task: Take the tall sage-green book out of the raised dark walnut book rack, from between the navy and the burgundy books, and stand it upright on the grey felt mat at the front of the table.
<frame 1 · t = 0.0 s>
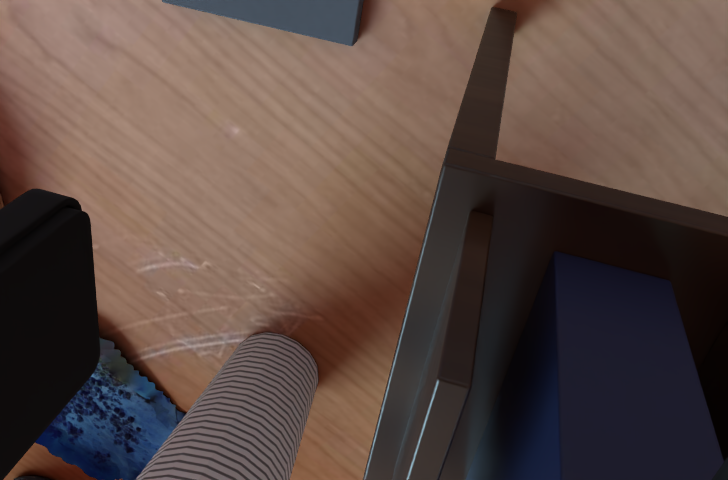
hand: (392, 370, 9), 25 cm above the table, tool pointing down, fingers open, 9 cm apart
rack: (657, 173, 33), on the table
rock: (113, 409, 52), on the table
cup: (279, 363, 45), on the table
navy book: (552, 396, 18), point 18 cm above the table, touching gripper, rack
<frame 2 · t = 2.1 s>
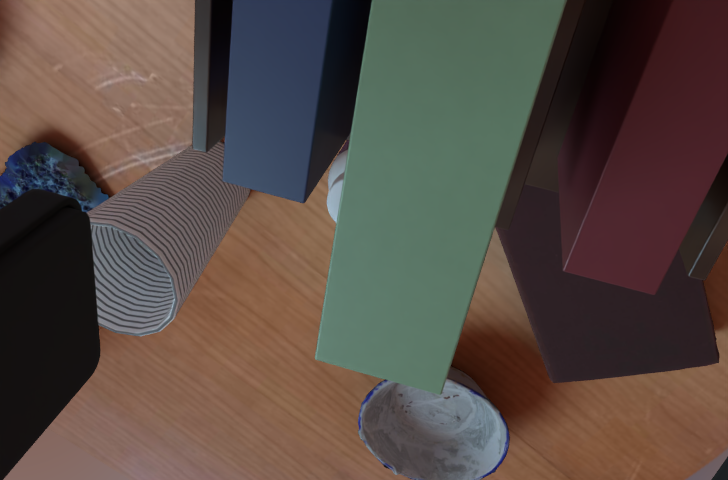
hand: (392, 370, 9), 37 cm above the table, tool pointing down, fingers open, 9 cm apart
bowl: (438, 395, 60), on the table
book: (599, 247, 49), on the table
rock: (81, 234, 60), on the table
pill bottle: (388, 143, 48), on the table
green book: (479, 25, 25), point 18 cm above the table, touching rack
burgundy book: (632, 59, 24), point 18 cm above the table, touching rack
cup: (219, 172, 53), on the table
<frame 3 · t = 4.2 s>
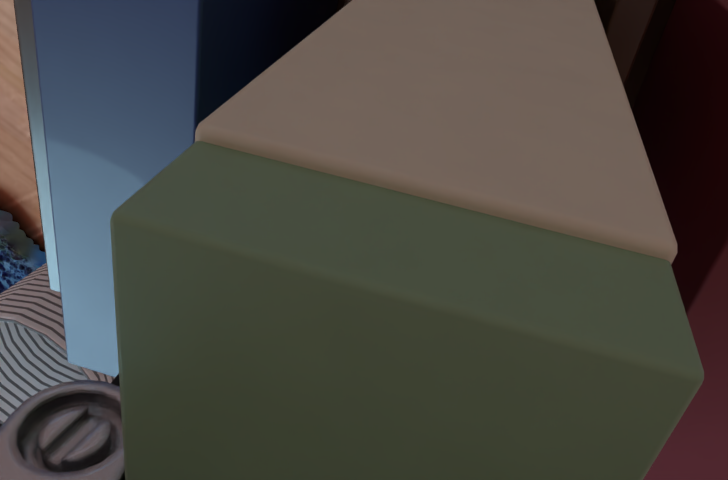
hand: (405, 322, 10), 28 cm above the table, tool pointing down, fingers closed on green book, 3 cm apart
rock: (21, 293, 53), on the table
green book: (466, 112, 18), point 18 cm above the table, touching gripper, rack
burgundy book: (668, 160, 18), point 18 cm above the table, touching rack
cup: (171, 230, 46), on the table
navy book: (280, 67, 19), point 18 cm above the table, touching rack
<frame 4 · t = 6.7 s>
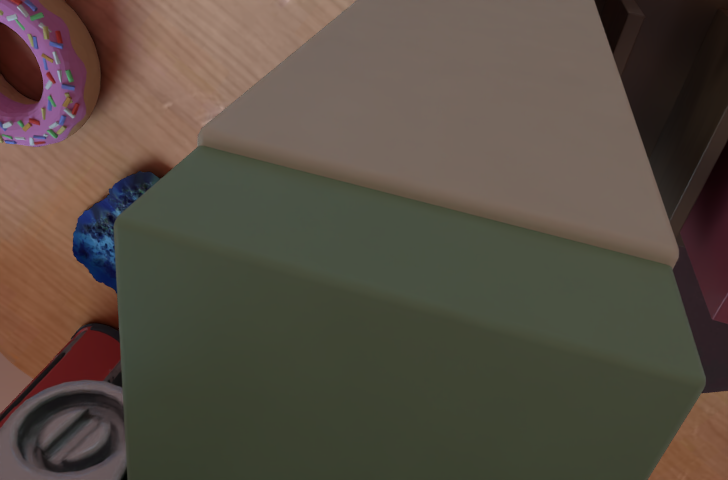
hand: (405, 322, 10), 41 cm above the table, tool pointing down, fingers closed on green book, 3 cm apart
donut: (35, 53, 57), on the table
rack: (596, 23, 45), on the table
speaker: (110, 347, 73), on the table
book: (661, 278, 54), on the table
rock: (171, 255, 64), on the table
green book: (467, 113, 18), point 31 cm above the table, touching gripper
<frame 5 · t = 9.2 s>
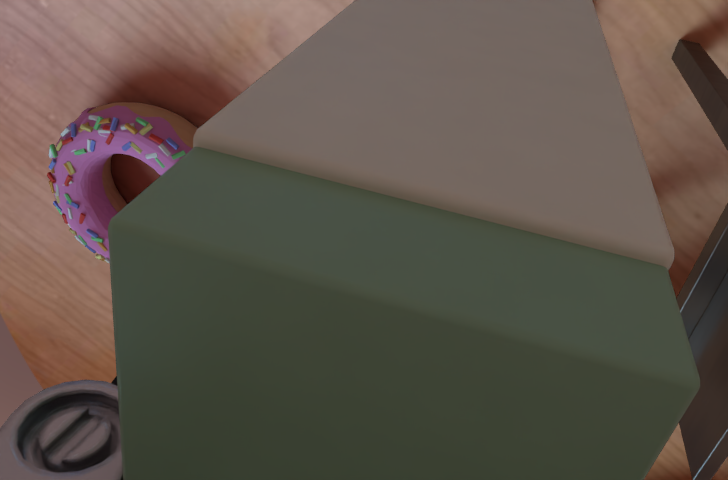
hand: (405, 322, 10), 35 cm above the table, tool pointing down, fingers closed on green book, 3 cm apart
donut: (159, 176, 53), on the table
green book: (466, 113, 18), point 26 cm above the table, touching gripper
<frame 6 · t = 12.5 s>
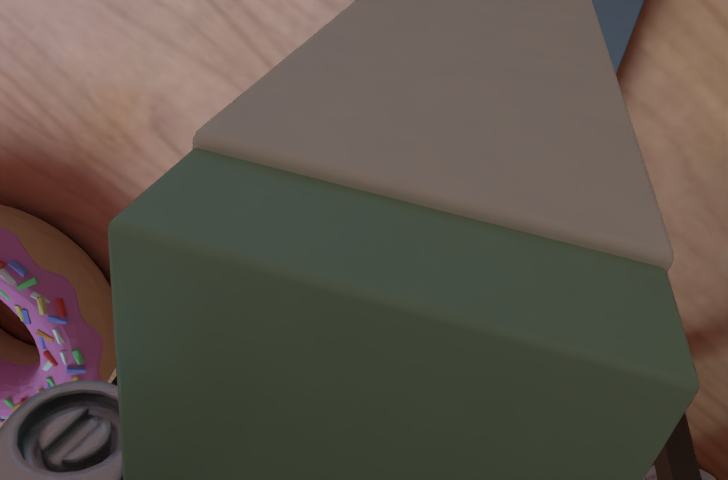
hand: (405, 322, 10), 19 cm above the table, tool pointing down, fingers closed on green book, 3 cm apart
donut: (28, 289, 40), on the table
mat: (491, 27, 26), on the table
green book: (465, 113, 18), point 9 cm above the table, touching gripper
when the fingers open (11 cm above the table, at t = 14.7 s): green book stays where it is, resting on mat.
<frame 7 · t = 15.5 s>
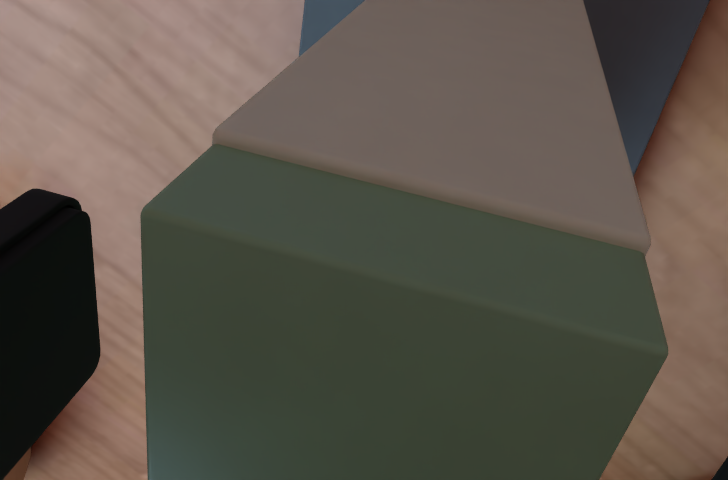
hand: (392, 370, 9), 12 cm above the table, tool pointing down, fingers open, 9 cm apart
mat: (468, 99, 19), on the table
green book: (463, 114, 19), point 1 cm above the table, touching mat
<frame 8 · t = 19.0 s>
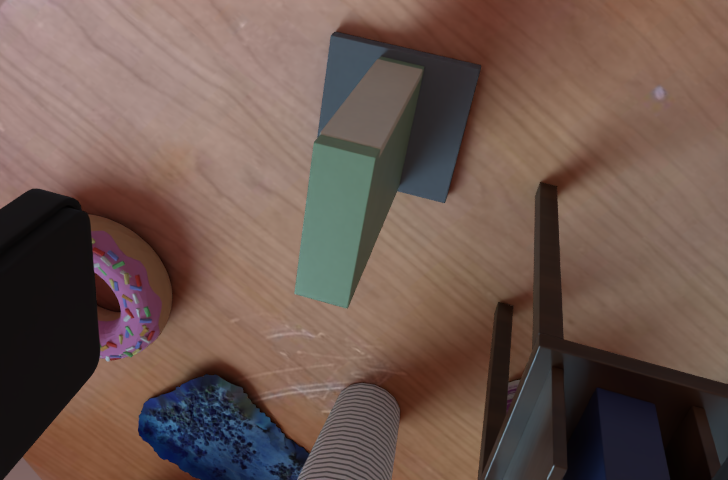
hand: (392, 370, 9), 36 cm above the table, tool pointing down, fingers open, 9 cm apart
donut: (108, 271, 60), on the table
rack: (650, 287, 48), on the table
mat: (393, 118, 46), on the table
rock: (232, 436, 68), on the table
green book: (390, 124, 45), point 1 cm above the table, touching mat
cup: (369, 404, 61), on the table
navy book: (591, 456, 34), point 18 cm above the table, touching rack
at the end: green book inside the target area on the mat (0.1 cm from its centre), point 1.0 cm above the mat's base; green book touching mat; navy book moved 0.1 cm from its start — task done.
